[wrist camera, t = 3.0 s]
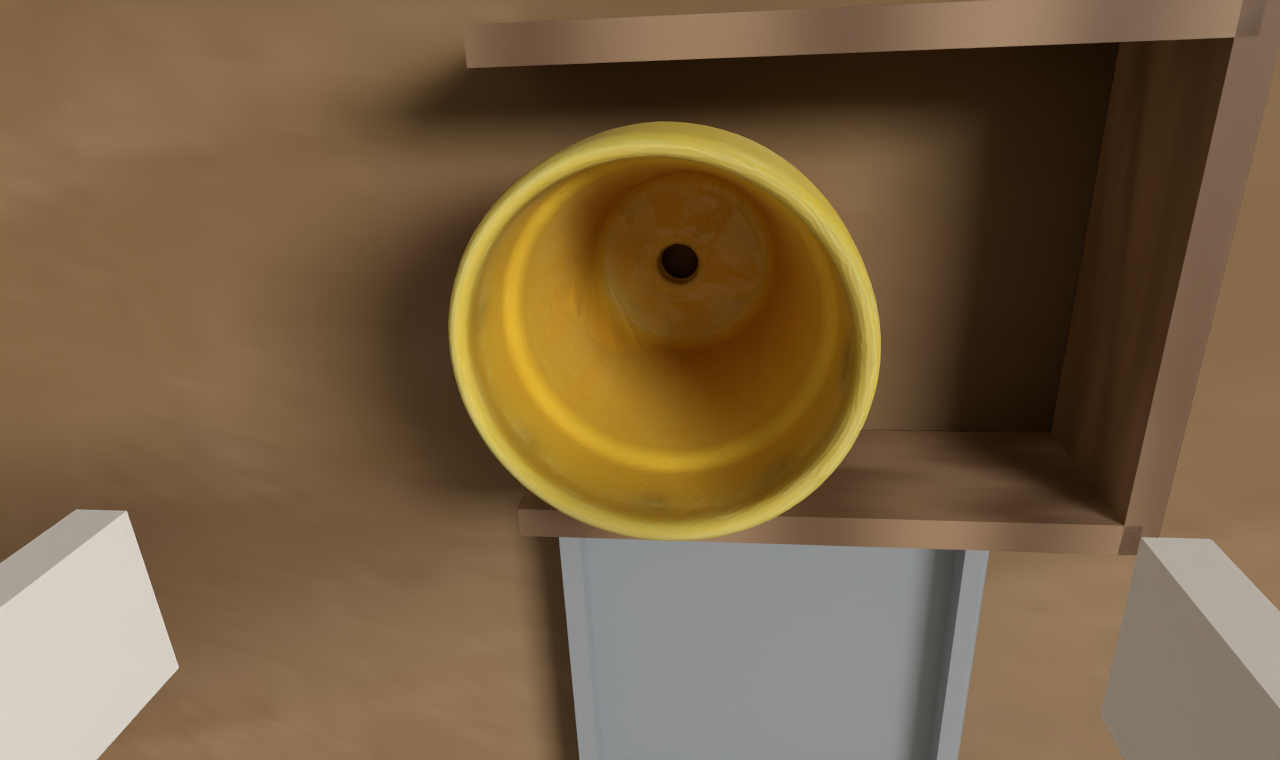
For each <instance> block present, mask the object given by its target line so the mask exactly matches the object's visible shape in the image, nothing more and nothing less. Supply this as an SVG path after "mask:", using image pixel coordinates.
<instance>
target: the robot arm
mask: <svg viewBox="0 0 1280 760" xmlns="http://www.w3.org/2000/svg"><path fill="white" fill-rule="evenodd" d="M178 668H179V666H178V663H177V660H176V657H175V654H174V651H173V648H172V645H171V642H170V639H169V636H168V633H167V630H166V627H165V624H164V621H163V618H162V615H161V612H160V609H159V606H158V603H157V600H156V597H155V594H154V591H153V588H152V585H151V582H150V579H149V576H148V573H147V570H146V567H145V564H144V561H143V558H142V555H141V552H140V549H139V546H138V543H137V540H136V537H135V534H134V531H133V528H132V525H131V522H130V519H129V516H128V513H127V511H117V510H79V509H76V510H75V511H73V512H72V513H71V514H69V515H68V516H66V517H65V518H63V519H62V520H61V521H59V522H58V523H56V524H55V525H54V526H52V527H51V528H49V529H48V530H46V531H45V532H44V533H42V534H41V535H39V536H38V537H37V538H35V539H34V540H32V541H31V542H29V543H28V544H27V545H25V546H24V547H22V548H21V549H20V550H18V551H17V552H15V553H14V554H12V555H11V556H10V557H8V558H7V559H5V560H4V561H3V562H1V563H0V760H97V759H98V757H99V756H100V755H101V754H102V753H103V752H104V751H105V750H106V749H107V747H108V746H109V745H110V744H111V743H112V742H113V741H114V740H115V738H116V737H117V736H118V735H119V734H120V733H121V732H122V731H123V730H124V728H125V727H126V726H127V725H128V724H129V723H130V722H131V721H132V719H133V718H134V717H135V716H136V715H137V714H138V713H139V712H140V711H141V709H142V708H143V707H144V706H145V705H146V704H147V703H148V702H149V700H150V699H151V698H152V697H153V696H154V695H155V694H156V693H157V692H158V690H159V689H160V688H161V687H162V686H163V685H164V684H165V683H166V681H167V680H168V679H169V678H170V677H171V676H172V675H173V674H174V673H175V671H176V670H177V669H178ZM1100 715H1101V717H1102V719H1103V721H1104V723H1105V725H1106V727H1107V729H1108V730H1109V732H1110V734H1111V736H1112V738H1113V740H1114V742H1115V743H1116V745H1117V747H1118V749H1119V751H1120V753H1121V755H1122V757H1123V758H1124V760H1280V611H1279V610H1278V609H1277V608H1276V607H1275V606H1274V605H1273V604H1272V603H1271V602H1270V601H1269V600H1268V599H1267V598H1266V597H1265V596H1264V595H1263V594H1262V592H1261V591H1260V590H1259V589H1258V588H1257V587H1256V586H1255V585H1254V584H1253V583H1252V582H1251V581H1250V580H1249V579H1248V578H1247V577H1246V576H1245V574H1244V573H1243V572H1242V571H1241V570H1240V569H1239V568H1238V567H1237V566H1236V565H1235V564H1234V563H1233V562H1232V561H1231V560H1230V559H1229V558H1228V557H1227V555H1226V554H1225V553H1224V552H1223V551H1222V550H1221V549H1220V548H1219V547H1218V546H1217V545H1216V544H1215V543H1214V542H1213V541H1212V540H1211V539H1187V538H1149V537H1141V541H1140V545H1139V549H1138V554H1137V558H1136V562H1135V567H1134V571H1133V575H1132V580H1131V584H1130V588H1129V593H1128V597H1127V601H1126V606H1125V610H1124V614H1123V619H1122V623H1121V627H1120V632H1119V636H1118V641H1117V645H1116V649H1115V654H1114V658H1113V662H1112V667H1111V671H1110V675H1109V680H1108V684H1107V688H1106V693H1105V697H1104V701H1103V706H1102V710H1101V714H1100Z"/></svg>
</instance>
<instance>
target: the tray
mask: <svg viewBox="0 0 1280 760" xmlns="http://www.w3.org/2000/svg"><path fill="white" fill-rule="evenodd" d="M559 544H560V555H561V566H562V577H563V587H564V598H565V609H566V620H567V631H568V641H569V652H570V663H571V674H572V684H573V695H574V706H575V717H576V728H577V738H578V749H579V760H958V753H959V747H960V740H961V734H962V727H963V720H964V714H965V707H966V701H967V694H968V687H969V681H970V674H971V668H972V661H973V655H974V648H975V641H976V635H977V628H978V622H979V615H980V608H981V602H982V595H983V589H984V582H985V576H986V569H987V562H988V556H989V551H983V550H951V549H919V548H888V547H856V546H824V545H792V544H761V543H729V542H697V541H657V540H634V539H602V538H570V537H559Z"/></svg>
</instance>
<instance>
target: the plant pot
mask: <svg viewBox="0 0 1280 760" xmlns="http://www.w3.org/2000/svg"><path fill="white" fill-rule="evenodd" d="M673 244H682V245H685V246H688V247H690V248H691V249H693V251H694V252H695V253H696V255H697V258H698V267H697V269H696V271H695V273H694V274H692V275H691V276H690V277H687V278H683V279H680V278H675V277H673V276H671V275H670V274H668V273H667V272H666V271H665V270H664V268H663V266H662V262H661V256H662V254H663V252H664V250H665V249H666V248H667V247H669V246H671V245H673ZM448 333H449V347H450V357H451V362H452V367H453V372H454V376H455V379H456V383H457V386H458V389H459V392H460V395H461V398H462V401H463V403H464V405H465V408H466V410H467V412H468V414H469V416H470V418H471V420H472V422H473V424H474V426H475V427H476V429H477V431H478V433H479V434H480V436H481V437H482V439H483V440H484V442H485V443H486V445H487V446H488V448H489V449H490V450H491V452H492V453H493V454H494V455H495V457H496V458H497V459H498V460H499V461H500V463H501V464H502V465H503V466H504V467H505V468H506V469H507V470H508V471H509V472H510V473H511V474H512V475H513V476H514V477H515V478H516V479H517V480H518V481H519V482H520V483H521V484H522V485H523V486H524V487H526V488H527V489H528V490H530V491H531V492H532V493H534V494H535V495H536V496H538V497H539V498H540V499H542V500H543V501H545V502H546V503H548V504H550V505H551V506H553V507H554V508H556V509H557V510H559V511H561V512H562V513H564V514H566V515H568V516H570V517H572V518H574V519H576V520H578V521H580V522H583V523H585V524H588V525H590V526H593V527H596V528H599V529H602V530H605V531H609V532H612V533H616V534H620V535H623V536H628V537H634V538H640V539H646V540H657V541H691V540H701V539H709V538H715V537H720V536H725V535H729V534H732V533H736V532H739V531H743V530H746V529H749V528H752V527H754V526H757V525H760V524H762V523H764V522H766V521H769V520H771V519H773V518H775V517H777V516H778V515H780V514H782V513H783V512H785V511H787V510H789V509H790V508H792V507H793V506H795V505H796V504H798V503H799V502H801V501H802V500H803V499H805V498H806V497H807V496H809V495H810V494H811V493H812V492H813V491H814V490H816V489H817V488H818V487H819V486H820V485H821V484H822V483H823V482H824V481H825V480H826V479H827V478H828V477H829V476H830V475H831V474H832V473H833V471H834V470H835V469H836V468H837V467H838V465H839V464H840V463H841V462H842V460H843V459H844V457H845V456H846V455H847V453H848V452H849V451H850V449H851V447H852V446H853V444H854V442H855V440H856V439H857V437H858V435H859V433H860V431H861V429H862V427H863V425H864V423H865V420H866V418H867V415H868V413H869V410H870V407H871V404H872V401H873V398H874V394H875V390H876V386H877V381H878V376H879V368H880V357H881V334H880V322H879V315H878V310H877V304H876V299H875V296H874V292H873V289H872V285H871V282H870V279H869V277H868V274H867V271H866V268H865V266H864V263H863V261H862V258H861V256H860V254H859V252H858V249H857V247H856V245H855V243H854V242H853V240H852V238H851V236H850V234H849V232H848V230H847V228H846V227H845V225H844V224H843V222H842V221H841V219H840V217H839V216H838V214H837V213H836V211H835V210H834V209H833V207H832V206H831V205H830V203H829V202H828V201H827V199H826V198H825V197H824V196H823V195H822V193H821V192H820V191H819V190H818V189H817V188H816V187H815V186H814V185H813V184H812V183H811V182H810V181H809V180H808V179H807V178H806V177H805V176H804V175H803V174H802V173H801V172H800V171H799V170H797V169H796V168H795V167H794V166H792V165H791V164H790V163H788V162H787V161H786V160H785V159H783V158H782V157H780V156H779V155H777V154H776V153H774V152H772V151H771V150H769V149H768V148H766V147H764V146H762V145H760V144H758V143H756V142H754V141H752V140H750V139H747V138H745V137H743V136H740V135H737V134H734V133H731V132H728V131H725V130H722V129H718V128H714V127H710V126H706V125H699V124H692V123H683V122H662V121H659V122H647V123H639V124H633V125H627V126H622V127H618V128H614V129H610V130H607V131H604V132H601V133H599V134H596V135H593V136H590V137H587V138H585V139H583V140H581V141H579V142H576V143H574V144H572V145H570V146H568V147H566V148H564V149H562V150H560V151H559V152H557V153H555V154H554V155H552V156H551V157H549V158H547V159H546V160H544V161H542V162H541V163H539V164H538V165H536V166H535V167H534V168H532V169H531V170H530V171H528V172H527V173H526V174H524V175H523V176H522V177H521V178H520V179H518V180H517V181H516V182H515V183H514V184H513V185H511V186H510V187H509V188H508V189H507V190H506V191H505V192H504V193H503V194H502V196H501V197H500V198H499V199H498V200H497V201H496V202H495V203H494V204H493V205H492V207H491V208H490V209H489V210H488V212H487V213H486V215H485V216H484V218H483V219H482V220H481V222H480V223H479V225H478V226H477V228H476V230H475V231H474V233H473V235H472V236H471V238H470V240H469V242H468V244H467V246H466V249H465V251H464V253H463V256H462V258H461V261H460V264H459V267H458V270H457V274H456V277H455V280H454V285H453V290H452V294H451V300H450V308H449V319H448Z"/></svg>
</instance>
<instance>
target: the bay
mask: <svg viewBox="0 0 1280 760" xmlns="http://www.w3.org/2000/svg"><path fill="white" fill-rule="evenodd" d="M462 29H463V38H464V46H465V55H466V64H467V68H484V67H508V66H533V65H558V64H583V63H608V62H633V61H658V60H683V59H708V58H732V57H757V56H782V55H807V54H832V53H857V52H882V51H907V50H932V49H956V48H981V47H1006V46H1031V45H1056V44H1081V43H1106V42H1119V48H1118V54H1117V59H1116V65H1115V71H1114V77H1113V82H1112V88H1111V94H1110V99H1109V105H1108V111H1107V116H1106V122H1105V128H1104V134H1103V139H1102V145H1101V151H1100V156H1099V162H1098V168H1097V173H1096V179H1095V185H1094V191H1093V196H1092V202H1091V208H1090V213H1089V219H1088V225H1087V231H1086V236H1085V242H1084V248H1083V253H1082V259H1081V265H1080V270H1079V276H1078V282H1077V288H1076V293H1075V299H1074V305H1073V310H1072V316H1071V322H1070V328H1069V333H1068V339H1067V345H1066V350H1065V356H1064V362H1063V367H1062V373H1061V379H1060V385H1059V390H1058V396H1057V402H1056V407H1055V413H1054V419H1053V424H1052V430H1051V433H1030V432H961V431H892V430H861V431H860V433H859V435H858V437H857V439H856V440H855V442H854V444H853V446H852V447H851V449H850V451H849V452H848V453H847V455H846V456H845V457H844V459H843V460H842V462H841V463H840V464H839V465H838V467H837V468H836V469H835V470H834V471H833V473H832V474H831V475H830V476H829V477H828V478H827V479H826V480H825V481H824V482H823V483H822V484H821V485H820V486H819V487H818V488H817V489H816V490H814V491H813V492H812V493H811V494H810V495H809V496H807V497H806V498H805V499H803V500H802V501H801V502H799V503H798V504H796V505H795V506H793V507H792V508H790V509H789V510H787V511H785V512H783V513H782V514H780V515H778V516H777V517H775V518H773V519H771V520H769V521H766V522H764V523H762V524H760V525H757V526H754V527H752V528H749V529H746V530H743V531H739V532H736V533H732V534H729V535H725V536H720V537H715V538H709V539H701V540H691V541H697V542H729V543H761V544H792V545H824V546H856V547H888V548H919V549H951V550H983V551H1015V552H1046V553H1078V554H1110V555H1137V554H1138V549H1139V545H1140V541H1141V537H1149V538H1159V535H1160V530H1161V526H1162V522H1163V518H1164V514H1165V510H1166V506H1167V502H1168V498H1169V494H1170V490H1171V486H1172V482H1173V478H1174V474H1175V470H1176V466H1177V462H1178V457H1179V453H1180V449H1181V445H1182V441H1183V437H1184V433H1185V429H1186V425H1187V421H1188V417H1189V413H1190V409H1191V405H1192V401H1193V397H1194V393H1195V389H1196V384H1197V380H1198V376H1199V372H1200V368H1201V364H1202V360H1203V356H1204V352H1205V348H1206V344H1207V340H1208V336H1209V332H1210V328H1211V324H1212V320H1213V316H1214V311H1215V307H1216V303H1217V299H1218V295H1219V291H1220V287H1221V283H1222V279H1223V275H1224V271H1225V267H1226V263H1227V259H1228V255H1229V251H1230V247H1231V243H1232V238H1233V234H1234V230H1235V226H1236V222H1237V218H1238V214H1239V210H1240V206H1241V202H1242V198H1243V194H1244V190H1245V186H1246V182H1247V178H1248V174H1249V170H1250V165H1251V161H1252V157H1253V153H1254V149H1255V145H1256V141H1257V137H1258V133H1259V129H1260V125H1261V121H1262V117H1263V113H1264V109H1265V105H1266V101H1267V97H1268V93H1269V88H1270V84H1271V80H1272V76H1273V72H1274V68H1275V64H1276V60H1277V56H1278V52H1279V48H1280V0H987V1H966V2H945V3H923V4H902V5H881V6H859V7H838V8H817V9H795V10H774V11H753V12H731V13H710V14H689V15H667V16H646V17H625V18H603V19H582V20H560V21H539V22H518V23H496V24H475V25H462ZM517 510H518V519H519V528H520V536H538V537H570V538H602V539H634V540H646V539H640V538H634V537H628V536H623V535H620V534H616V533H612V532H609V531H605V530H602V529H599V528H596V527H593V526H590V525H588V524H585V523H583V522H580V521H578V520H576V519H574V518H572V517H570V516H568V515H566V514H564V513H562V512H561V511H559V510H557V509H556V508H554V507H553V506H551V505H550V504H548V503H546V502H545V501H543V500H542V499H540V498H539V497H538V496H536V495H535V494H534V493H532V492H531V491H530V490H528V489H527V490H526V492H525V494H524V496H523V498H522V500H521V503H520V505H519V507H518V509H517Z"/></svg>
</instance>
